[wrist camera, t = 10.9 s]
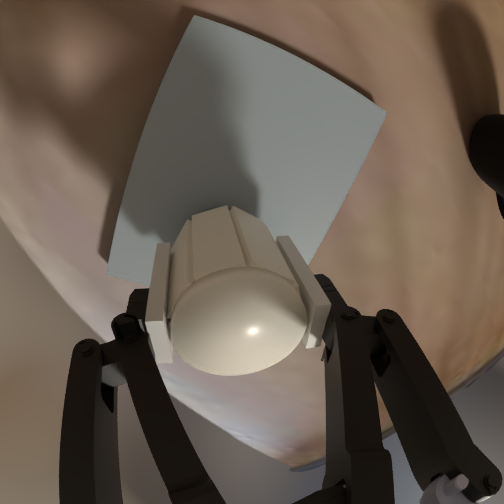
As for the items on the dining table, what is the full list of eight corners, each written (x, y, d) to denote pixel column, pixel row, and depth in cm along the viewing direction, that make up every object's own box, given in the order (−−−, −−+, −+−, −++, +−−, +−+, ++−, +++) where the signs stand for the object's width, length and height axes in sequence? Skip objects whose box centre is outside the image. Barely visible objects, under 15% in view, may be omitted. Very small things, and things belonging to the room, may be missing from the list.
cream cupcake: (159, 271, 18) (151, 357, 12) (203, 190, 16) (211, 254, 10) (239, 302, 21) (259, 384, 15) (288, 234, 19) (333, 305, 13)
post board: (194, 19, 13) (196, -33, 6) (378, 111, 18) (461, 131, 11) (109, 265, 20) (82, 346, 13) (274, 306, 25) (303, 382, 18)
